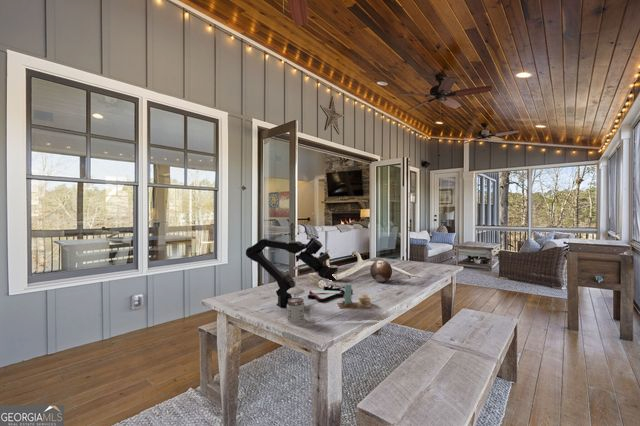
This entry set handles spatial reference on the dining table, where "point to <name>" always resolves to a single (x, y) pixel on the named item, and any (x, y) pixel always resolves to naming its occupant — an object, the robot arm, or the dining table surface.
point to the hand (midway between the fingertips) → (333, 278)
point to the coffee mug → (333, 269)
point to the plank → (347, 293)
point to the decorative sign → (328, 293)
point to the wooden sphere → (381, 271)
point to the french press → (295, 311)
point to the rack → (357, 303)
